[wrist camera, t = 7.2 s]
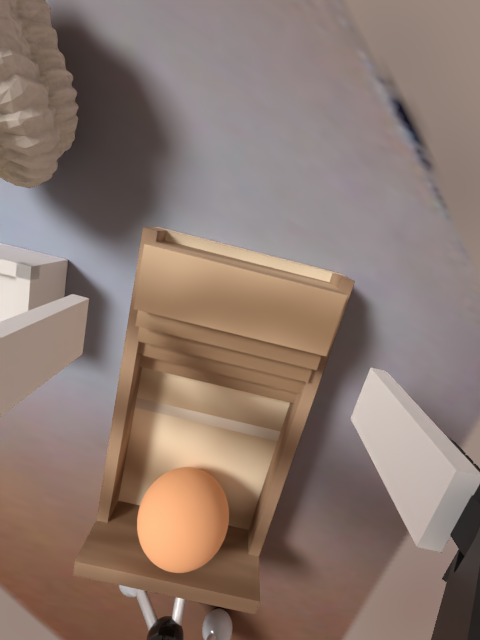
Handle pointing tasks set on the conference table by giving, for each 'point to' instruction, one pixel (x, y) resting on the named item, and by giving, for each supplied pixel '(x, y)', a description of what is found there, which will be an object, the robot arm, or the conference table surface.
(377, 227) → the conference table surface
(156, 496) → the ball
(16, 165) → the fossil replica
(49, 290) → the white open box
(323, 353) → the wooden stepped tray
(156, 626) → the molecular model
